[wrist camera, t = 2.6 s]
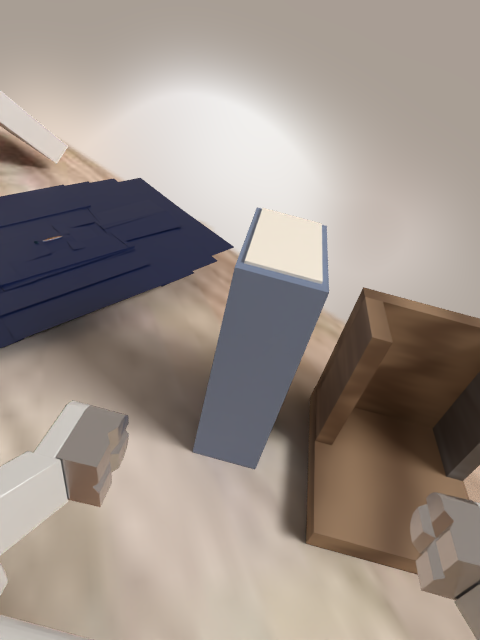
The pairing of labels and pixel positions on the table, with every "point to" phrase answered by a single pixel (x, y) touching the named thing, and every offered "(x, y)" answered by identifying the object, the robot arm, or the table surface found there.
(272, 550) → the table surface
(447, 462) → the shelf
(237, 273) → the tall blue pillar
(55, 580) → the table surface
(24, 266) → the navy flat slab
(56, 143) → the pizza boxes
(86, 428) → the robot arm
